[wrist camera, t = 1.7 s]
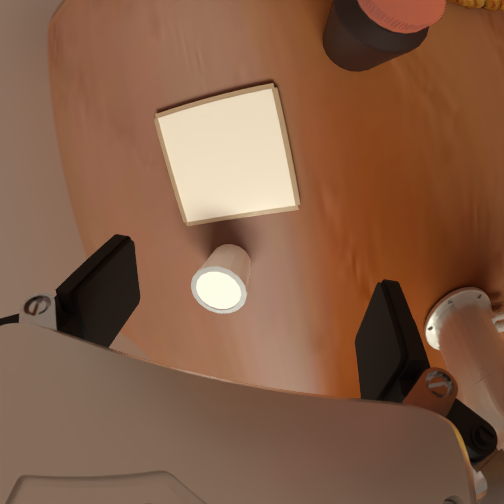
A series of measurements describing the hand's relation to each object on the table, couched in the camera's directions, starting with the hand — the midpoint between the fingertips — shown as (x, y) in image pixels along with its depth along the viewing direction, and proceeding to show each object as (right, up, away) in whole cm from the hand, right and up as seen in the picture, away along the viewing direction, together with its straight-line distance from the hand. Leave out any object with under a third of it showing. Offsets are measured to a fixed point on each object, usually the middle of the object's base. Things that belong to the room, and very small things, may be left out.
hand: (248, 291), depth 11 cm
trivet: (-3, +13, +24) cm, 28 cm away
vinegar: (+11, +24, +16) cm, 31 cm away
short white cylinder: (-3, 0, +31) cm, 31 cm away
